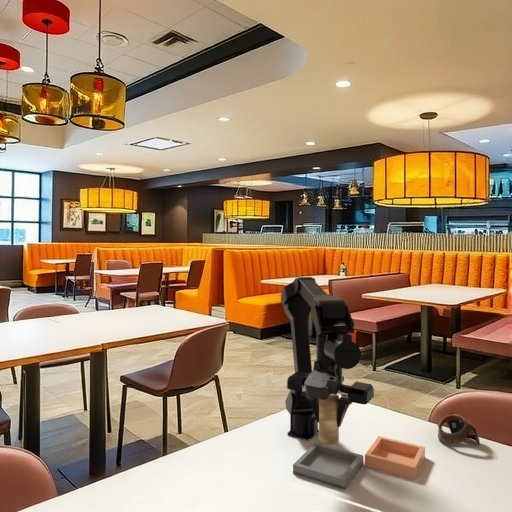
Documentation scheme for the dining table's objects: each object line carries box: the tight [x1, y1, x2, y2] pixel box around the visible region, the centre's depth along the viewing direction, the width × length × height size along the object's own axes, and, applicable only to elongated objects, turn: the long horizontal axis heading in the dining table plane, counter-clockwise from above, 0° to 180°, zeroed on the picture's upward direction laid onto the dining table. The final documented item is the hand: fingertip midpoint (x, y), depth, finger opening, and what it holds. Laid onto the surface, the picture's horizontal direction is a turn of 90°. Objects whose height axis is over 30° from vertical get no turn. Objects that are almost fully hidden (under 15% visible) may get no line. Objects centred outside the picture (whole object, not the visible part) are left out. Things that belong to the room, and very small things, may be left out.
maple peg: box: [318, 393, 340, 445], centre depth 99 cm, size 4×4×10 cm
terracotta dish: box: [364, 435, 426, 480], centre depth 103 cm, size 11×11×3 cm
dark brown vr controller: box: [437, 411, 481, 446], centre depth 114 cm, size 12×10×8 cm
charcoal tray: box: [292, 442, 364, 490], centre depth 100 cm, size 12×12×2 cm
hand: (328, 424), depth 99 cm, fingers closed on maple peg, 4 cm apart
